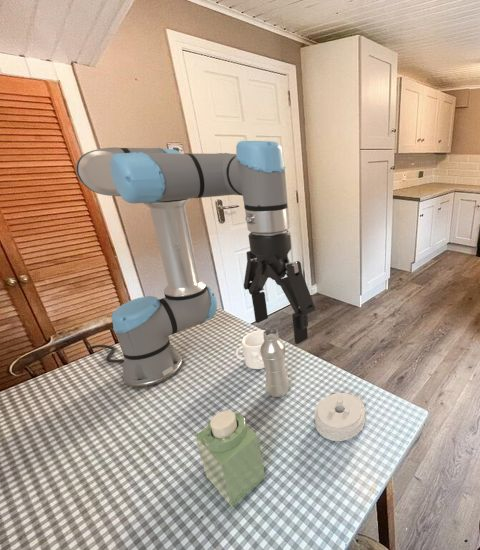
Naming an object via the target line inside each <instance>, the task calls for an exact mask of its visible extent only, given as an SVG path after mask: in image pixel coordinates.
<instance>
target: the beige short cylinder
mask: <svg viewBox="0 0 480 550" xmlns="http://www.w3.org/2000/svg"><path fill="white" fill-rule="evenodd" d="M235 413H236V412H234V411H232V410H222V411H220V412H218V413H216V414H215V415H214V416H213V417H211V420H210V421H209V423H210V425H211V429H212V434H213V436H214V437H215V438H217V439H223V438H226V437H229V436H230V435H232V434H233V433H234V432H235V431H236V429H237V421H236V416H235Z"/></svg>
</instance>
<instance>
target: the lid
mask: <svg viewBox="0 0 480 550" xmlns="http://www.w3.org/2000/svg"><path fill="white" fill-rule="evenodd" d="M313 415H314V426H315V429H316V431H317V433H318V434H319V435H320V436H321V437H323V438H325V439H327V440H330V441H334V442H343V441H348V440H351V439H353V438H355V437H356V436H357V435H359V434H360V433H361V431H362V430H363V428H364V426H365V424H366V407H365V405H364V403H363V401H362V400H361V399H360V398H359V397H357V396H356V395H354V394H350V393H346V392H337V393H336V392H335V393H331V394H329V395H327V396H326V397H325V396H324V397H323V399H321V400H320V401H319V402H318V403H317V404H316V407H315V409H314V414H313Z"/></svg>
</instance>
